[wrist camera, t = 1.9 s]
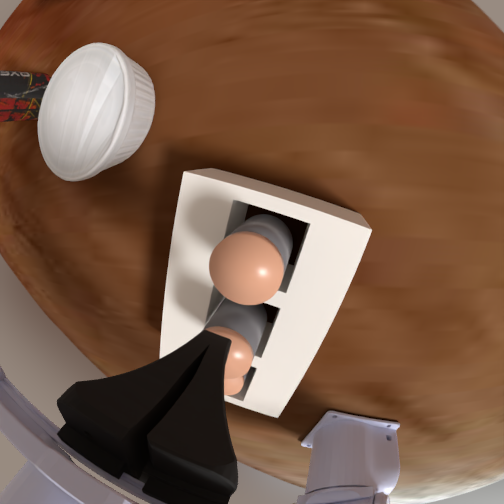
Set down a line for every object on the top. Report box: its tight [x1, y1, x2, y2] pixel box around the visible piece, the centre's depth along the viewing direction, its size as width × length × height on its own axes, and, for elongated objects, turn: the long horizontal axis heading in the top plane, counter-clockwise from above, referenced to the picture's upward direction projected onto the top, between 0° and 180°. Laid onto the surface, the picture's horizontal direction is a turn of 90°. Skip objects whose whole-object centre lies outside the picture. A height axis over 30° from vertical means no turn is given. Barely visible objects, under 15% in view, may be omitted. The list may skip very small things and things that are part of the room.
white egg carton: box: [160, 168, 372, 418], centre depth 19 cm, size 11×17×5 cm, turn 165°
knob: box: [209, 214, 293, 305], centre depth 14 cm, size 3×3×5 cm
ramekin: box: [38, 43, 155, 181], centre depth 17 cm, size 11×11×5 cm
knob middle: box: [202, 298, 267, 379], centre depth 16 cm, size 3×3×5 cm
